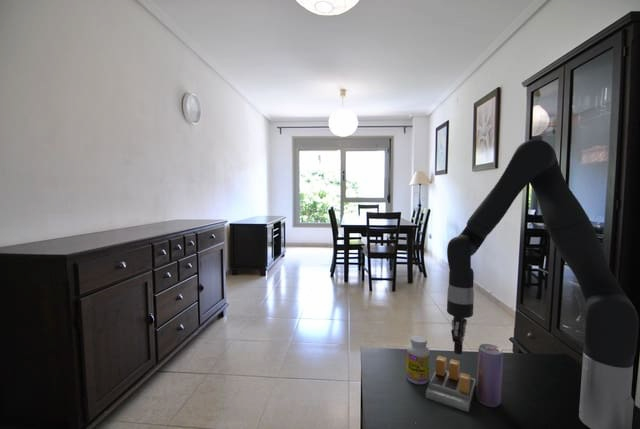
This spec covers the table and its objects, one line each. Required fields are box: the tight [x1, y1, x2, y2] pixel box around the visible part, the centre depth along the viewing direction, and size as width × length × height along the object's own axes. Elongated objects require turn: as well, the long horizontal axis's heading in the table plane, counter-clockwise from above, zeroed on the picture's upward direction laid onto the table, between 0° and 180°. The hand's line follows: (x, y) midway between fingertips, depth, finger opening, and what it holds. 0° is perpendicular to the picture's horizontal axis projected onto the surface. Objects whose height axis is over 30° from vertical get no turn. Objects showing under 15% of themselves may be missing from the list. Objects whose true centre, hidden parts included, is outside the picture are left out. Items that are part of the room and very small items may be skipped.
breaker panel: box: [425, 370, 476, 413], centre depth 94 cm, size 11×14×3 cm
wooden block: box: [435, 355, 447, 376], centre depth 99 cm, size 2×3×5 cm
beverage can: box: [476, 343, 504, 408], centre depth 89 cm, size 6×6×15 cm
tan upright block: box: [459, 371, 472, 394], centre depth 90 cm, size 2×3×5 cm
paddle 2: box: [448, 358, 461, 380], centre depth 97 cm, size 2×3×5 cm
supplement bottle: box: [405, 334, 431, 385], centre depth 100 cm, size 7×7×13 cm
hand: (458, 352), depth 102 cm, fingers closed
